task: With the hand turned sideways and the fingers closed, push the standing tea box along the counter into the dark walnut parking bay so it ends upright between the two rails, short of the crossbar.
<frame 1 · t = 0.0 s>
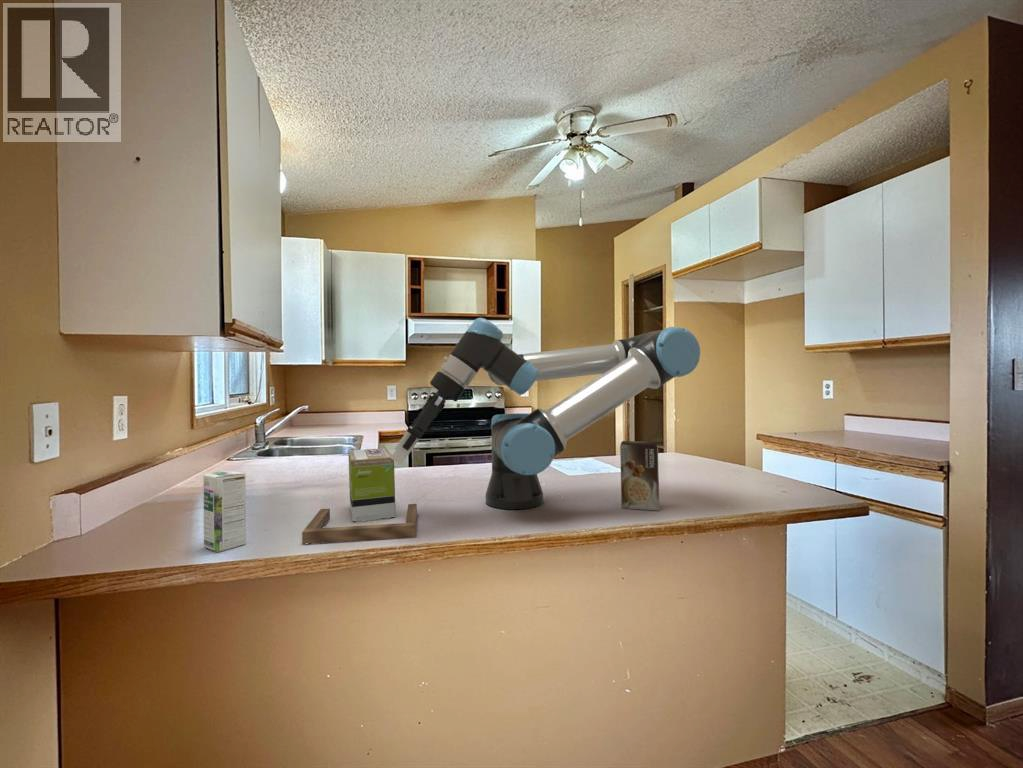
hand: (397, 456, 111), 15 cm above the countertop, tool tilted 35°, fingers open, 13 cm apart
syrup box: (225, 546, 98), on the countertop
tea box: (371, 513, 121), on the countertop
coffee box: (640, 507, 123), on the countertop
parking bay: (365, 526, 109), on the countertop
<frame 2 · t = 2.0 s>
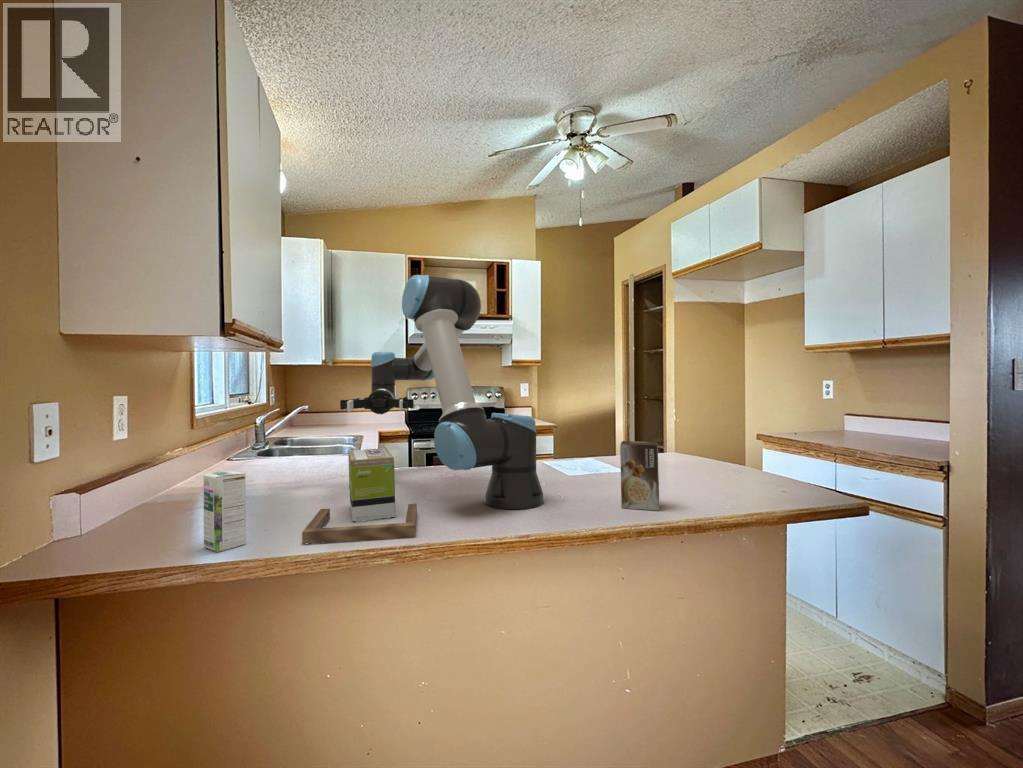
hand: (374, 406, 132), 25 cm above the countertop, tool horizontal, fingers open, 13 cm apart
nothing on the countertop moved.
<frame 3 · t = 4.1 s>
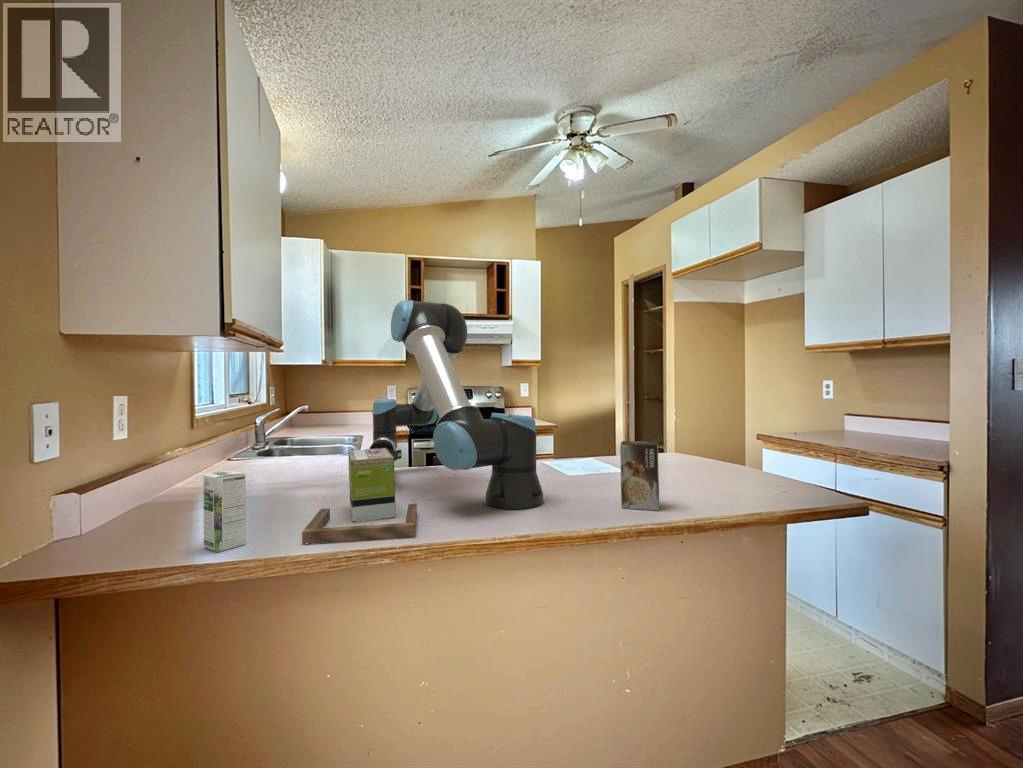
hand: (374, 464, 131), 10 cm above the countertop, tool horizontal, fingers closed
nothing on the countertop moved.
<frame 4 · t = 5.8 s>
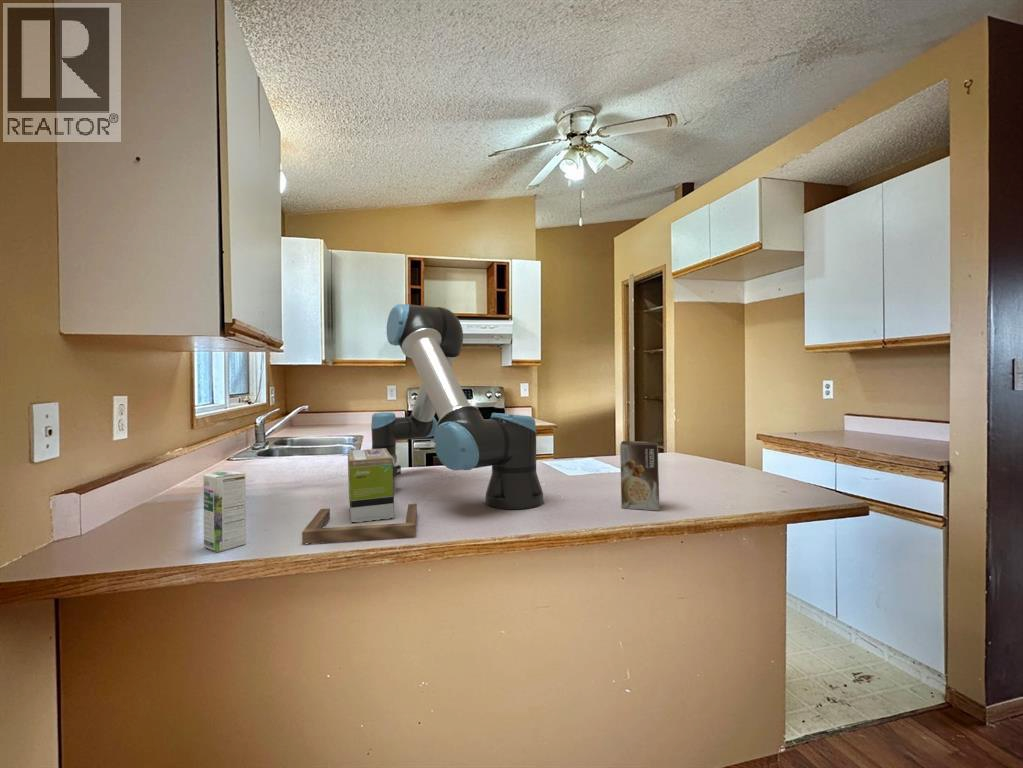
hand: (372, 482, 128), 6 cm above the countertop, tool horizontal, fingers closed
tea box: (370, 514, 120), on the countertop, touching gripper
everything else where it was.
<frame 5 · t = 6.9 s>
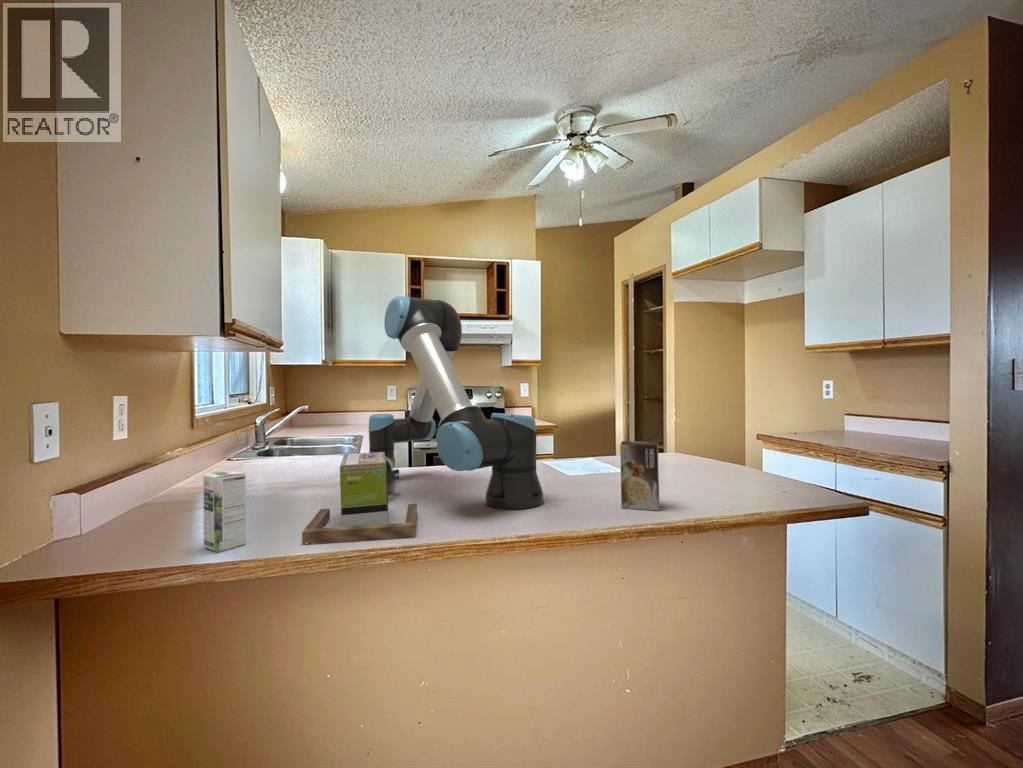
hand: (369, 487, 121), 6 cm above the countertop, tool horizontal, fingers closed
tea box: (365, 521, 114), on the countertop, touching gripper
everything else where it was.
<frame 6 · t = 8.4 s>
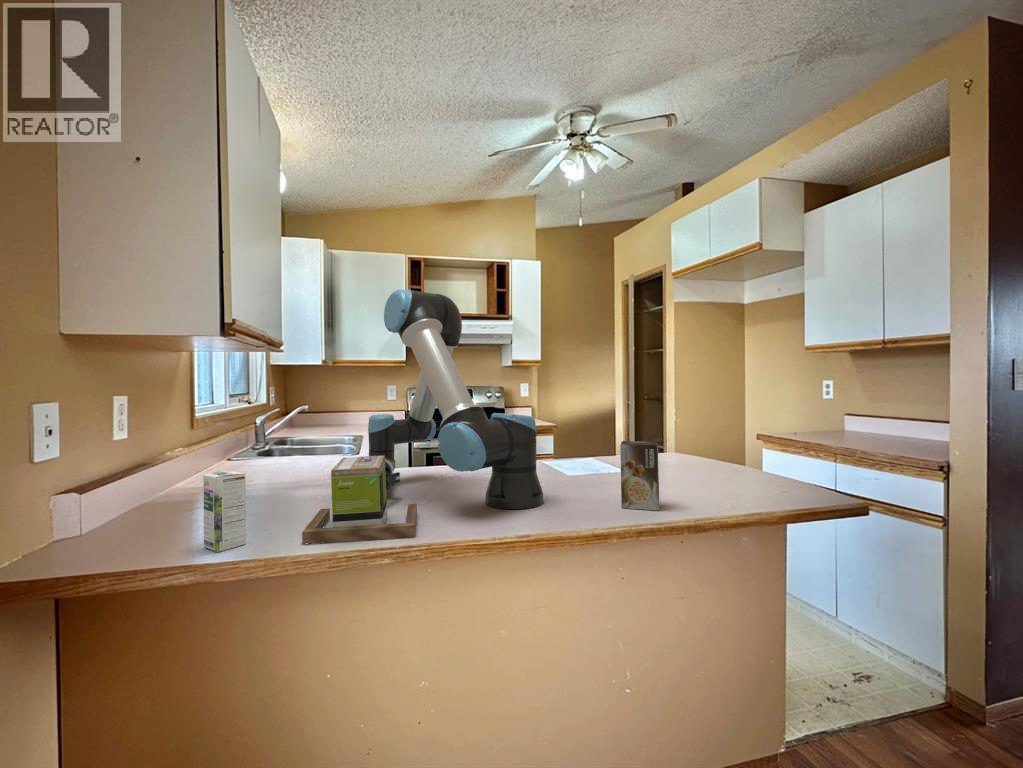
hand: (368, 492, 116), 6 cm above the countertop, tool horizontal, fingers closed
tea box: (361, 528, 109), on the countertop, touching gripper, parking bay
everything else where it was.
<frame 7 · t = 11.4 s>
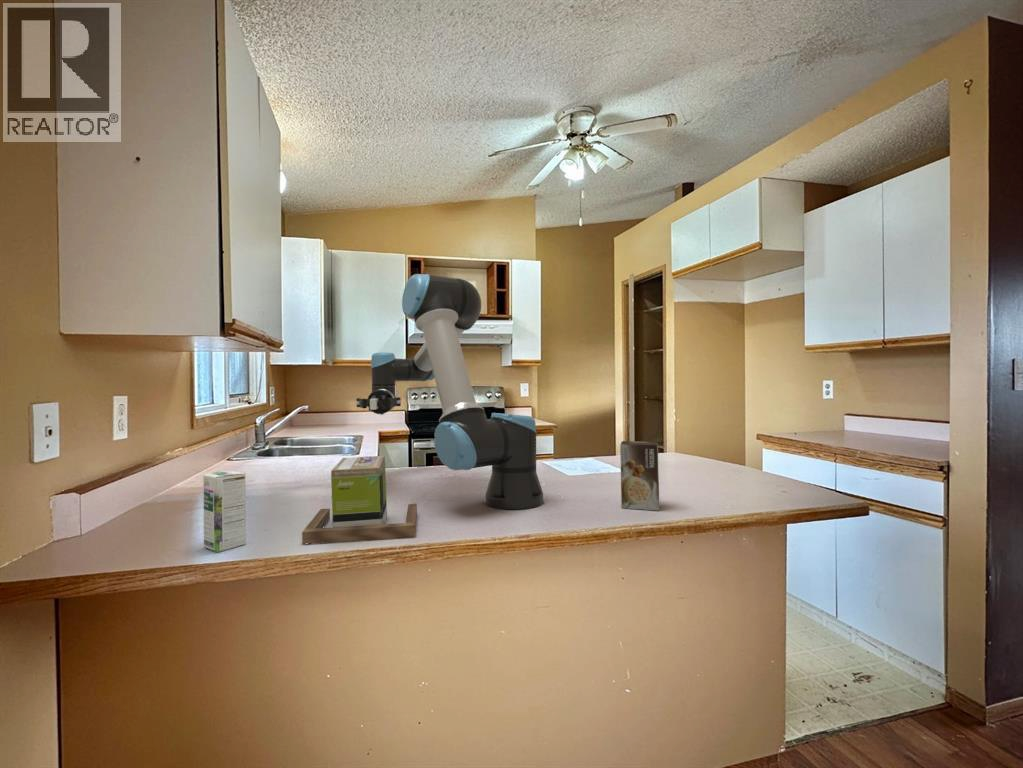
hand: (372, 404, 129), 26 cm above the countertop, tool horizontal, fingers closed
tea box: (361, 528, 109), on the countertop
everything else where it was.
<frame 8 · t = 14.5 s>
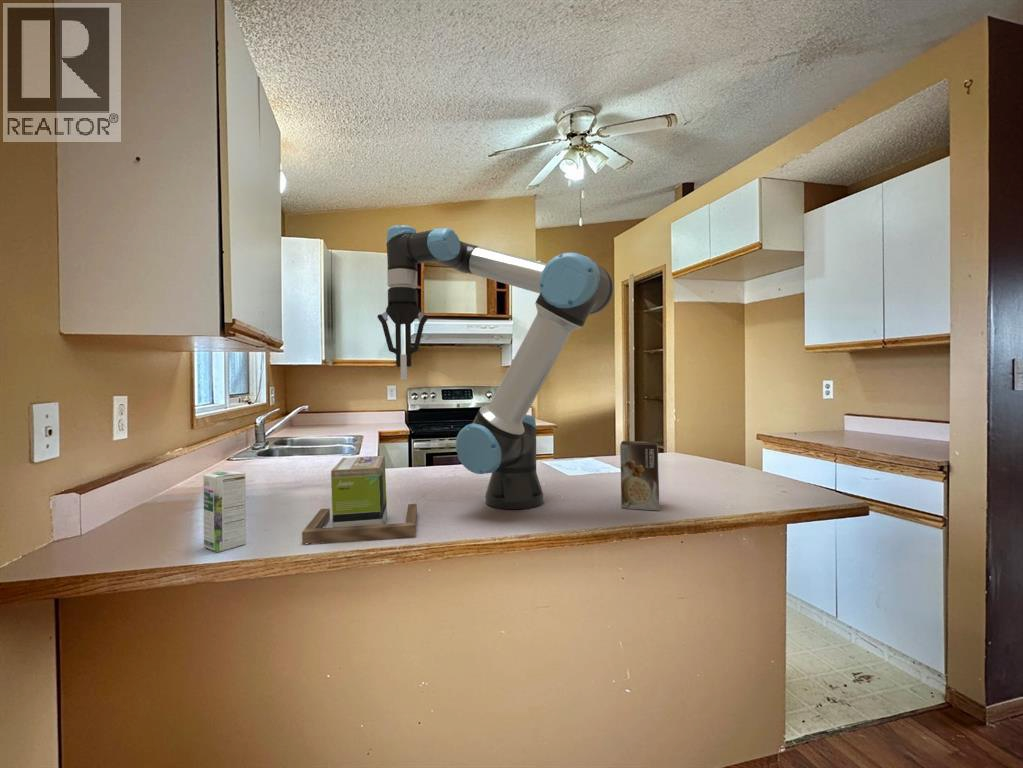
hand: (404, 379, 128), 32 cm above the countertop, tool pointing down, fingers closed
nothing on the countertop moved.
at the end: tea box inside the target area (1.4 cm from its centre), on the countertop; tea box tilted 0° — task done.
